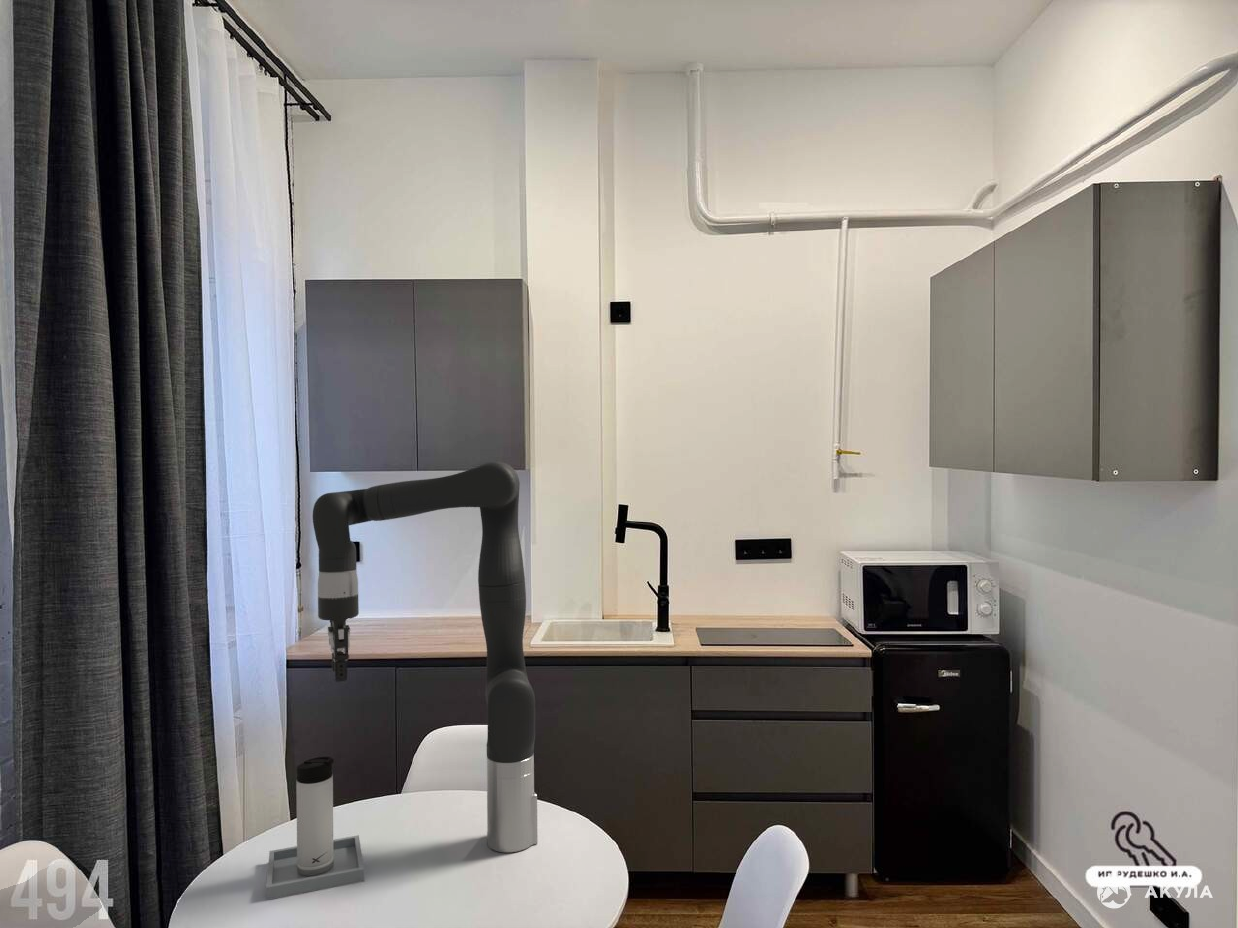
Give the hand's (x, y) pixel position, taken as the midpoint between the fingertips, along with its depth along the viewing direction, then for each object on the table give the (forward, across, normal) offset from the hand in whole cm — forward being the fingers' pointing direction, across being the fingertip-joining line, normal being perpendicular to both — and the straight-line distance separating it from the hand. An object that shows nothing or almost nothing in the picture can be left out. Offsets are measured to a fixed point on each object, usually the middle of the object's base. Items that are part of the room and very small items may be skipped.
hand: (339, 675), depth 154 cm
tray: (+33, -9, +5) cm, 35 cm away
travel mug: (+33, -9, +5) cm, 34 cm away
